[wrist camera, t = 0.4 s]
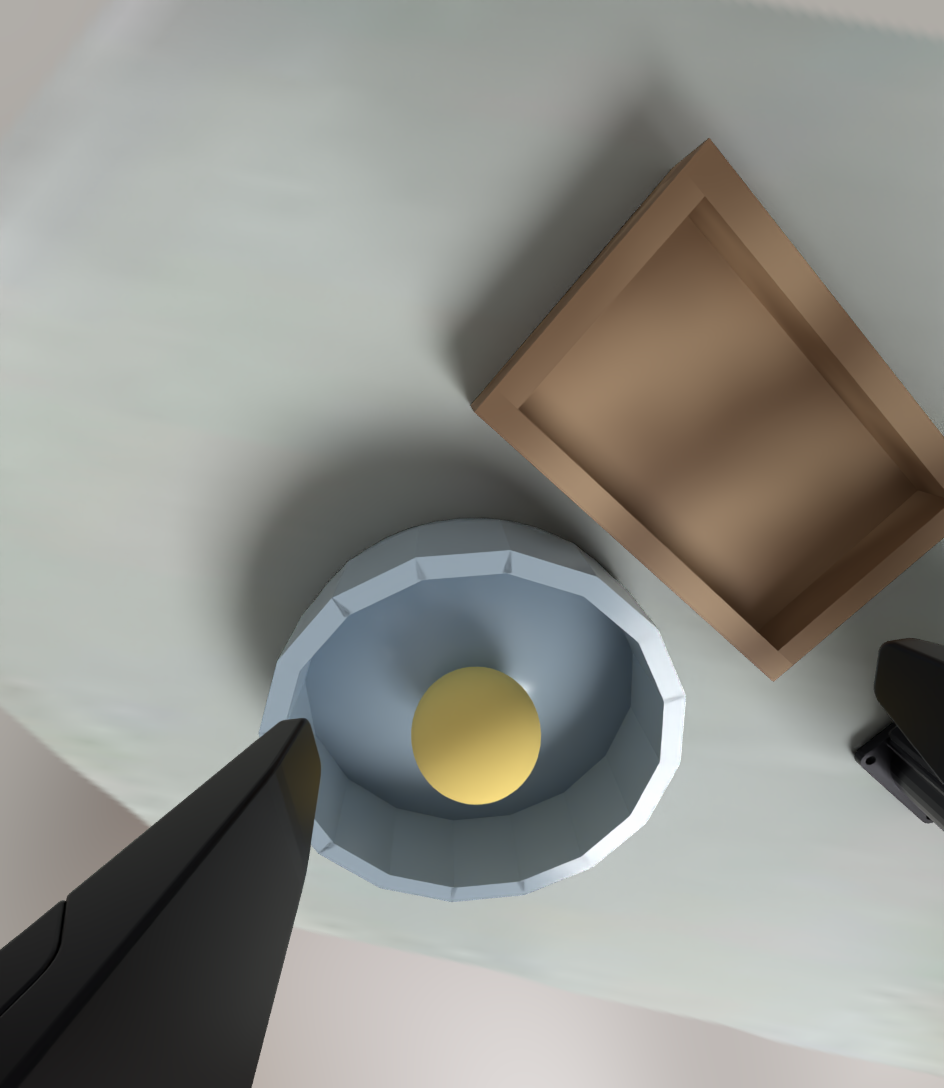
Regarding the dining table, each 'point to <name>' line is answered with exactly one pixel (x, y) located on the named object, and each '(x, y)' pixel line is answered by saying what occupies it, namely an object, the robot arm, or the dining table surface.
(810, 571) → the tray
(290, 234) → the dining table surface
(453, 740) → the ball
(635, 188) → the dining table surface
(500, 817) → the bowl
